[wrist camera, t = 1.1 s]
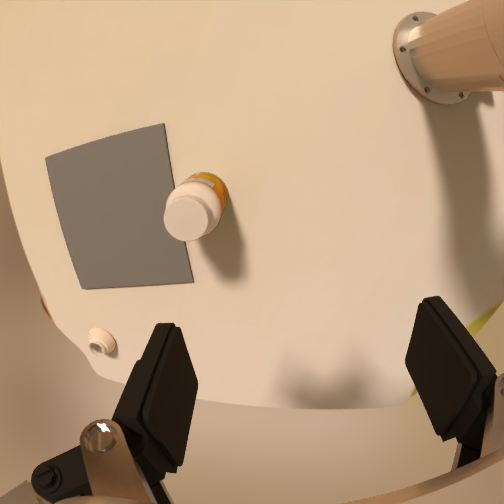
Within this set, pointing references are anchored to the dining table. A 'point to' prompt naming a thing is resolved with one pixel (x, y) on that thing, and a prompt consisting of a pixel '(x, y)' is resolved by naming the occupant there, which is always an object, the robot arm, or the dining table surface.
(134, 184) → the felt mat
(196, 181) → the supplement bottle
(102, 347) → the lidless jar
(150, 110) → the dining table surface
